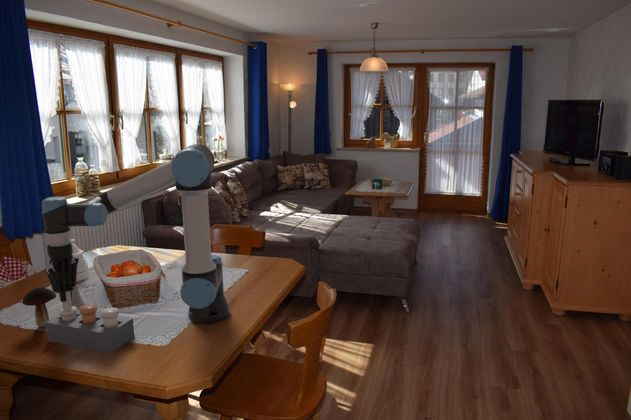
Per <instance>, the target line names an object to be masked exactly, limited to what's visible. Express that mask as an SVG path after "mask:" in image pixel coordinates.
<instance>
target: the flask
mask: <svg viewBox="0 0 631 420" xmlns="http://www.w3.org/2000/svg"><path fill="white" fill-rule="evenodd" d="M79 286H80V285H78V284H76V286H75V287H73V288H74V290H71V292H72V298H71V302H72V306H75V307H77V309H79V308H80V307H81V306H84V305H87V304H86V302H85V301H84V299H83V297H82V296H81V294H80V291H79Z"/></svg>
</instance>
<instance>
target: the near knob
mask: <svg viewBox="0 0 631 420" xmlns="http://www.w3.org/2000/svg"><path fill="white" fill-rule="evenodd" d="M119 311H120V310H119V308H118V307H108V308H107V307H106V308H104V309H102V310H100V312H99V313H101V317H102V318H103V321H104V327H105V328H110V329H112V328H114V327H116V326H117V325H118V318H117V316H119V313H120V312H119Z"/></svg>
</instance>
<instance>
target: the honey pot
mask: <svg viewBox="0 0 631 420" xmlns="http://www.w3.org/2000/svg"><path fill="white" fill-rule="evenodd" d="M75 241H76V239H75V238H71V243H72V249H73V253H72V255H73V257H74V258H79V261H78V264H77V276H76V282H81V281H83V280H85V279H88V278H89V276H90V271H89V265H88V263H87V260H86V259H85V256H84V255H83V254H84V250H83V249H80V248H79V247H78V246H77V245H76V244H75Z"/></svg>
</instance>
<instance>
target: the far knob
mask: <svg viewBox="0 0 631 420" xmlns="http://www.w3.org/2000/svg"><path fill="white" fill-rule="evenodd" d="M58 313H59V315H60V316H62V320H66V321H70V320H72V319H74V318H76V313H77V307H75V306H72V309H71V310H64V309H63V307H62V308H59V310H58Z"/></svg>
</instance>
